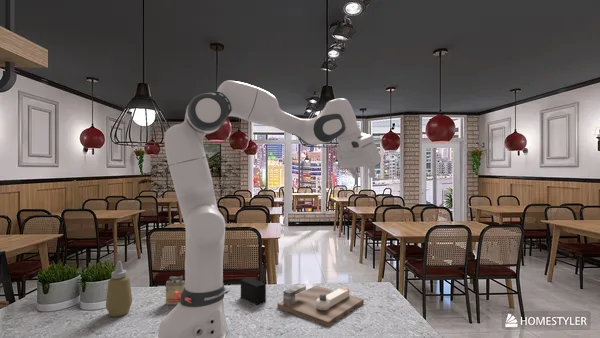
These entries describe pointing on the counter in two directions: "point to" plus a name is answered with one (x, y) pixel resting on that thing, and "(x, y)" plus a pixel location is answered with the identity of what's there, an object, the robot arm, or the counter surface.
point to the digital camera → (253, 291)
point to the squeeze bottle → (118, 292)
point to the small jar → (174, 289)
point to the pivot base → (306, 304)
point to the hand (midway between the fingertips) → (364, 177)
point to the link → (332, 298)
